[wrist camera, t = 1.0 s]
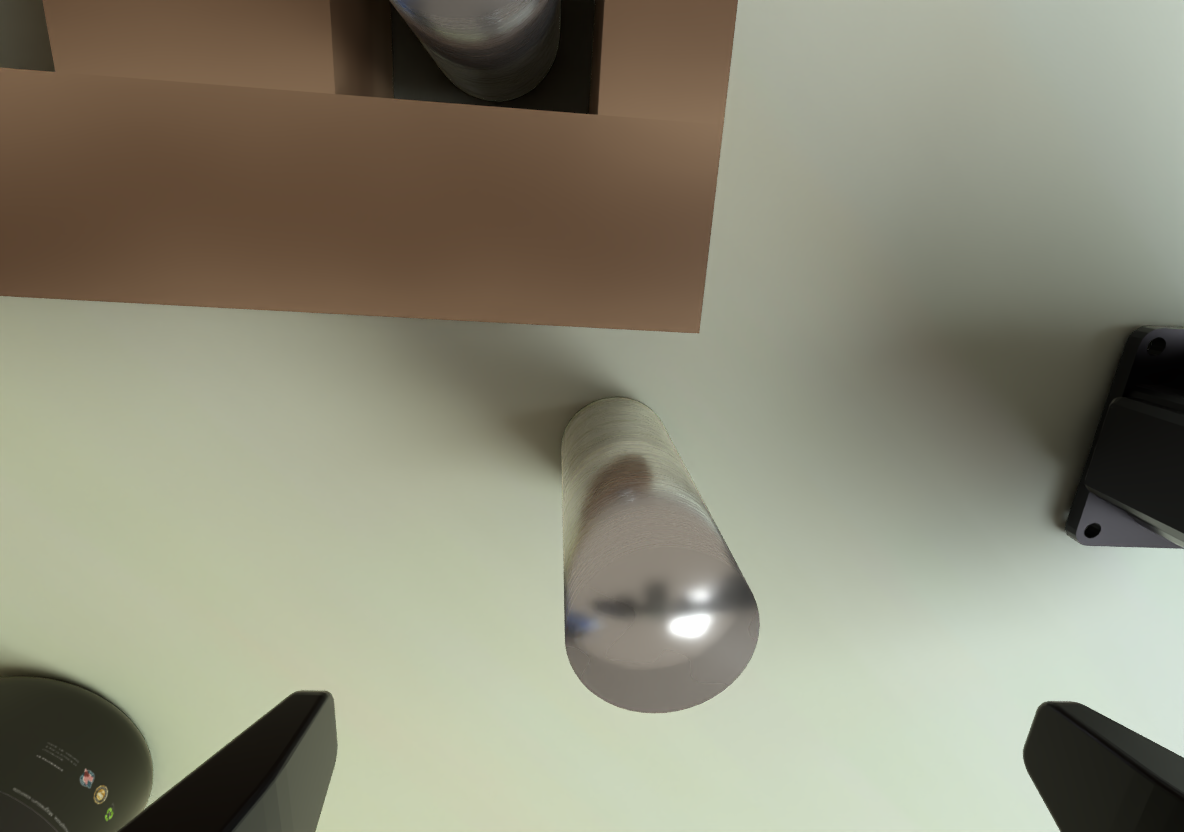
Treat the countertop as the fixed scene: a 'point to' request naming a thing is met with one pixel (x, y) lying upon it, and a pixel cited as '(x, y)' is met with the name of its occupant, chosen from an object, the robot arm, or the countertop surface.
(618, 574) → the steel pin
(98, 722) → the supplement bottle
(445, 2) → the short grey peg
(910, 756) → the countertop surface
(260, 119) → the hole block
